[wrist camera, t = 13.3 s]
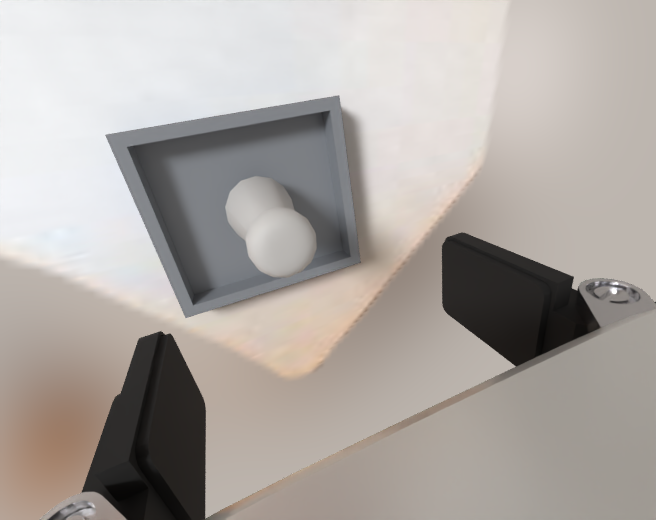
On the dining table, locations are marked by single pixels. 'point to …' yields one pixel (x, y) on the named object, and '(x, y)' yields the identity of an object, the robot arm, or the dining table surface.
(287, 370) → the dining table surface
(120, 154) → the tray
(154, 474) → the robot arm
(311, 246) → the salt shaker
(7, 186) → the dining table surface
